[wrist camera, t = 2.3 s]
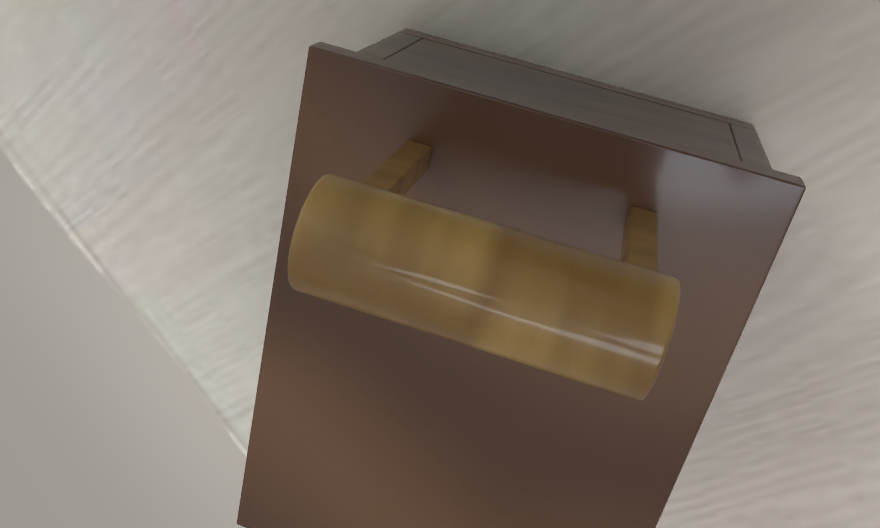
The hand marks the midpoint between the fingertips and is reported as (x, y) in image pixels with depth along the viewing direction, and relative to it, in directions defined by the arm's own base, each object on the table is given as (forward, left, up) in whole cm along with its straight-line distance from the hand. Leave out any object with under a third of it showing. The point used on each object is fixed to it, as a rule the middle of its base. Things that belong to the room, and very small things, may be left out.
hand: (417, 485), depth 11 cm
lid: (+6, -2, -13) cm, 14 cm away
